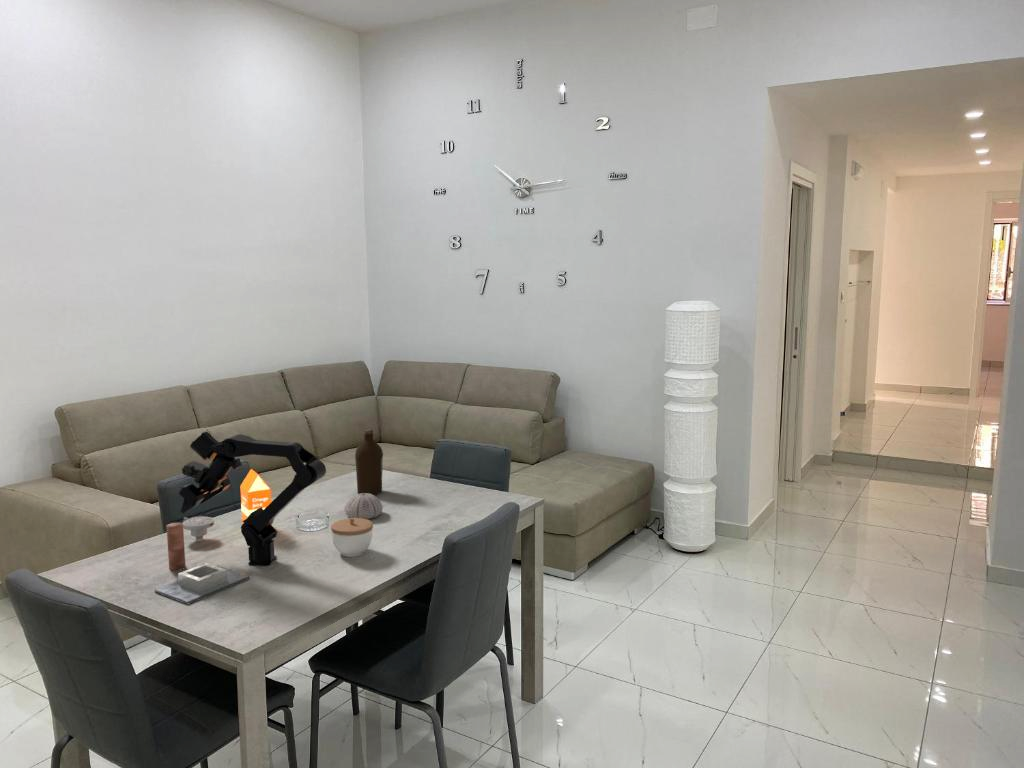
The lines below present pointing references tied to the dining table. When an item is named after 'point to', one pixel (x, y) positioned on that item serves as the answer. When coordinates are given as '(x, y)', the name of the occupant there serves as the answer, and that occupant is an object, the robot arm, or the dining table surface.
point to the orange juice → (254, 494)
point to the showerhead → (198, 526)
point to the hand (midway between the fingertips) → (191, 507)
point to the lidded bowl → (352, 536)
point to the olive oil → (369, 465)
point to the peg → (176, 546)
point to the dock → (201, 582)
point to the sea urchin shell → (363, 506)
